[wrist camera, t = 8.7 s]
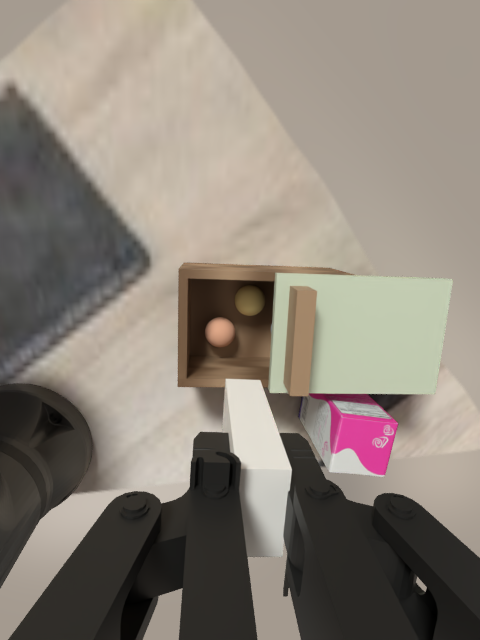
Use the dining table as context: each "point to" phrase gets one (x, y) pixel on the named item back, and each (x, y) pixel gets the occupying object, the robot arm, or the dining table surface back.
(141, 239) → the dining table surface
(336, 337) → the lid
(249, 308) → the ball mustard
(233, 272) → the box
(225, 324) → the ball terracotta
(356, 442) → the supplement box
